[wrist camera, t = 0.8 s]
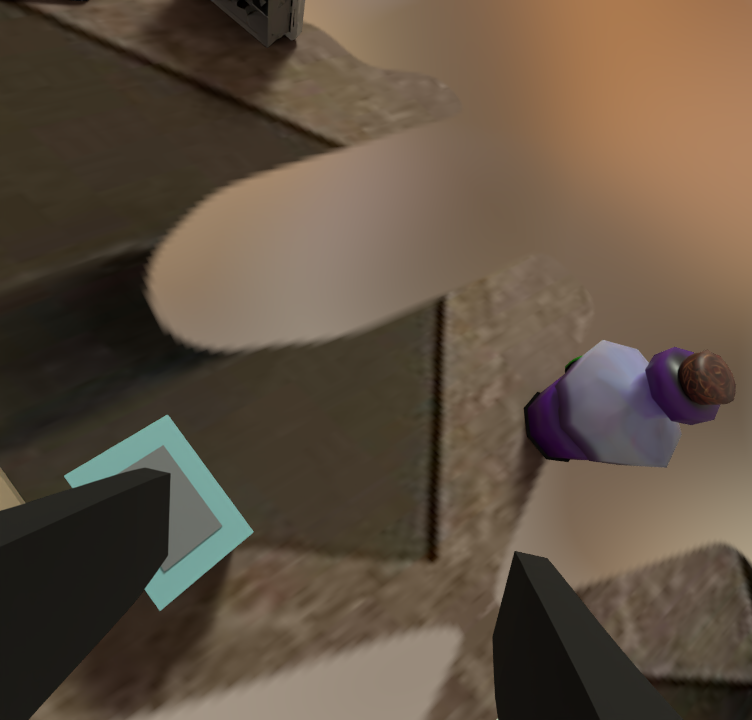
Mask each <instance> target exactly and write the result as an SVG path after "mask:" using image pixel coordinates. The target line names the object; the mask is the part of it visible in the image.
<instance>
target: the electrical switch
mask: <svg viewBox="0 0 752 720" xmlns="http://www.w3.org/2000/svg"><path fill="white" fill-rule="evenodd" d="M211 1H212V2H213V3H215V4H216V5H217V6H218V7H219V8H220V9H222V10H223V11H224V12H225V13H226V14H228V15H229V16H230V17H231V18H232V19H234V20H235V21H236V22H237V23H238V24H239V25H241V26H242V27H243V28H244V29H245V30H247V31H248V32H249V33H250V34H251V35H252V36H254V37H255V38H256V39H257V40H258V41H260V42H261V43H262V44H263V45H264V46H266V47H267V48H268V47H269V46H270V45H271V44H272V43H273V42H274V41H276V40H277V39H279V38H281V37H282V36H283V35H286V36H287V37H288V38H289V39H290V40H294V39H296V38H297V37H298V36H299V34H300V33H301V32H302V24H303V14H304V4H305V0H245V1H246V2H247V3H248V4H249V6H247V7H246V8H245V9H242V8H240V7H238V6H237V3H238V1H239V0H231V1H228V0H211ZM253 11H256V12H253ZM249 12H253V13H252V14H250V15H248V14H249ZM247 15H248V16H247ZM246 21H247V23H248V24H247V23H246ZM255 32H257V33H255Z"/></svg>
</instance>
